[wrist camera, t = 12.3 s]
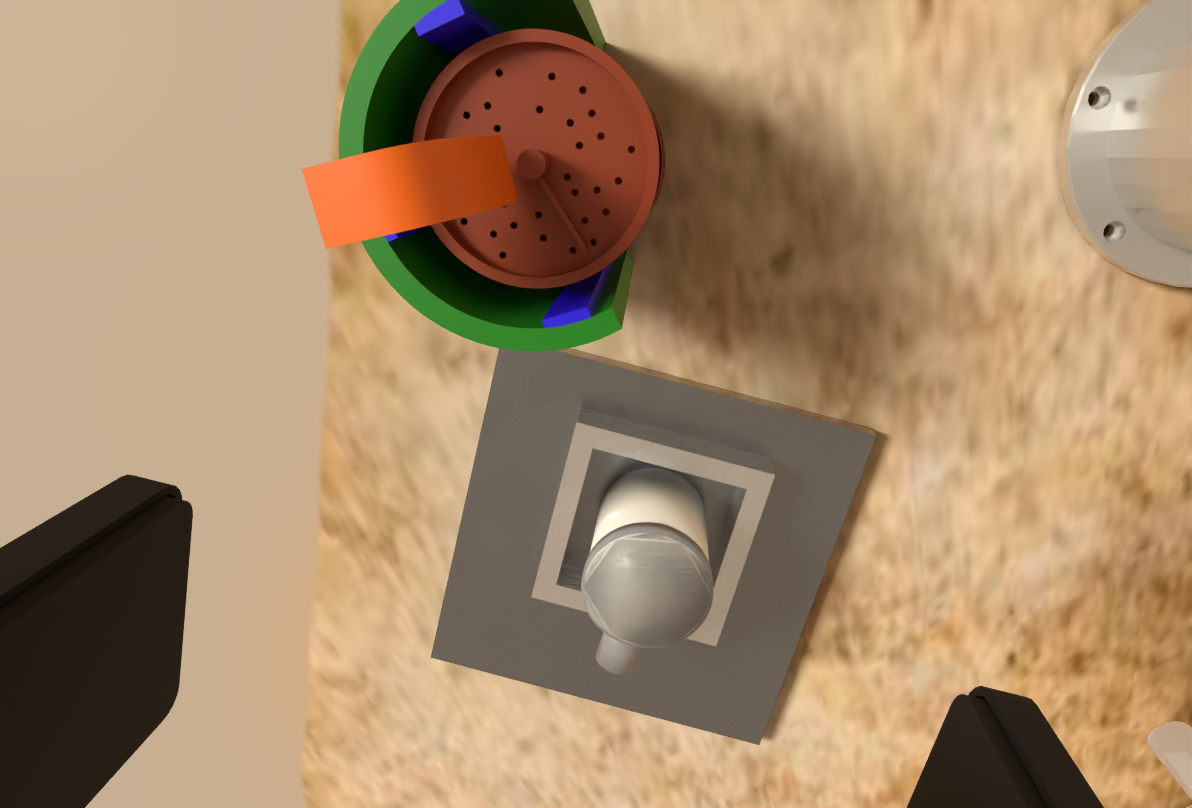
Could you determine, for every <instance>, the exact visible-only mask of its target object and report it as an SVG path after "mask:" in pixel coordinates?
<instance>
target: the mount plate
mask: <svg viewBox="0 0 1192 808" xmlns="http://www.w3.org/2000/svg"><path fill="white" fill-rule="evenodd" d="M876 436H877V435H876V434H875V432H874V431H873V430H872V428H868V427H864V426H860V425H857V424H853V423H849V422H845V421H841V420H838V419H834V418H830V417H826V416H823V415H819V414H815V413H811V412H808V411H804V410H800V409H796V408H792V407H789V406H785V405H781V404H777V403H774V402H770V401H766V400H762V399H759V398H755V397H751V396H747V395H744V394H740V393H736V392H732V391H728V390H725V389H721V388H717V387H713V386H710V385H706V384H702V383H698V382H695V381H691V380H687V379H683V378H679V377H676V376H672V375H668V374H664V373H661V372H657V371H653V370H649V369H646V368H642V367H638V366H634V365H631V364H627V363H623V362H619V361H615V360H612V359H608V358H604V357H600V356H597V355H593V354H589V353H585V352H582V351H578V350H574V349H570V348H566V349H560V350H552V351H516V350H508V349H501V348H499V352H498V356H497V361H496V366H495V370H494V375H493V379H492V384H491V388H490V393H489V397H488V402H487V406H486V411H485V415H484V420H483V424H482V429H481V433H480V438H479V442H478V447H477V451H476V456H475V460H474V465H473V469H472V474H471V478H470V483H469V487H468V492H467V496H466V501H465V505H464V510H463V514H462V519H461V523H460V528H459V533H458V537H457V542H456V546H455V551H454V555H453V560H452V564H451V569H450V573H449V578H448V582H447V587H446V591H445V596H444V600H443V605H442V609H441V614H440V618H439V623H438V627H437V632H436V636H435V641H434V645H433V650H432V654H431V658H435V659H439V660H443V661H446V662H450V663H454V664H458V665H461V666H465V667H469V668H473V669H476V670H480V671H484V672H488V673H491V674H495V675H499V676H503V677H506V678H510V679H514V680H518V681H521V682H525V683H529V684H533V685H536V686H540V687H544V688H548V689H551V690H555V691H559V692H563V693H566V694H570V695H574V696H578V697H581V698H585V699H589V700H592V701H596V702H600V703H604V704H607V705H611V706H615V707H619V708H622V709H626V710H630V711H634V712H637V713H641V714H645V715H649V716H652V717H656V718H660V719H664V720H667V721H671V722H675V723H679V724H682V725H686V726H690V727H694V728H697V729H701V730H705V731H709V732H712V733H716V734H720V735H724V736H727V737H731V738H735V739H739V740H742V741H746V742H750V743H754V744H757V745H759V744H760V742H761V739H762V736H763V734H764V731H765V728H766V726H767V723H768V721H769V718H770V715H771V713H772V710H773V707H774V705H775V702H776V699H777V697H778V694H779V692H780V689H781V686H782V684H783V681H784V678H785V676H786V673H787V671H788V668H789V665H790V663H791V660H792V657H793V655H794V652H795V649H796V647H797V644H798V642H799V639H800V636H801V634H802V631H803V628H804V626H805V623H806V621H807V618H808V615H809V613H810V610H811V607H812V605H813V602H814V600H815V597H816V594H817V592H818V589H819V586H820V584H821V581H822V578H823V576H824V573H825V571H826V568H827V565H828V563H829V560H830V557H831V555H832V552H833V550H834V547H835V544H836V542H837V539H838V536H839V534H840V531H841V529H842V526H843V523H844V521H845V518H846V515H847V513H848V510H849V507H850V505H851V502H852V500H853V497H854V494H855V492H856V489H857V486H858V484H859V481H860V479H861V476H862V473H863V471H864V468H865V465H866V463H867V460H868V458H869V455H870V452H871V450H872V447H873V444H874V442H875V439H876ZM645 468H657V469H664V470H668V471H671V472H673V473H676V474H677V475H679V476H681V477H683V478H684V479H686V480H687V481H688V482H689V483H690V484H691V485H692V486H693V487H694V488H695V489H696V490H697V492H698V494H699V495H700V497H701V499H702V502H703V505H704V508H705V515H706V528H707V542H708V555H709V564H710V567H711V571H712V577H713V601H712V606H711V609H710V612H709V614H708V616H707V618H706V619H705V621H704V622H703V624H702V625H701V626H700V627H699V628H698V629H697V630H696V631H695V632H694V633H693V634H692V635H690V636H689V637H687V638H686V639H684V640H682V641H680V642H678V643H675V644H673V645H670V646H665V647H660V648H641V650H640V652H639V655H638V658H637V660H636V663H635V666H634V669H633V670H632V672H630V673H628V674H624V675H620V674H615V673H611V672H609V671H607V670H605V669H604V668H603V667H601V666H600V665H599V664H598V662H597V660H596V652H597V650H598V647H599V644H600V641H601V638H602V635H603V631H602V630H601V629H599V628H598V626H597V625H596V624H595V623H594V622H593V621H592V619H591V618H590V616H589V614H588V613H587V611H586V609H585V606H584V603H583V599H582V594H581V582H582V575H583V571H584V567H585V563H586V560H587V558H588V555H589V553H590V550H591V546H592V541H593V536H594V532H595V527H596V523H597V518H598V514H599V509H600V505H601V501H602V499H603V496H604V494H605V493H606V491H607V490H608V488H609V487H610V486H611V485H612V484H613V483H614V482H615V481H616V480H617V479H619V478H620V477H621V476H623V475H625V474H627V473H629V472H632V471H635V470H639V469H645Z"/></svg>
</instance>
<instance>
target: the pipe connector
mask: <svg viewBox="0 0 1192 808" xmlns="http://www.w3.org/2000/svg"><path fill="white" fill-rule="evenodd" d="M1147 745H1148V747H1149V748H1150V749H1151V751H1152V752H1153V753H1154V754H1155V755H1156V757H1157V758H1158V759H1159V760H1160V762H1161V763H1162V764H1163V765H1164V767H1165V768H1166V769H1167V770H1168V771H1169V773H1170V774H1171V775H1172V776H1173V778H1174V779H1175V780H1176V781H1177V783H1178V784H1179V785H1180V786H1181V787H1182V789H1183V790H1184V791H1185V792H1186V794H1187V795H1188V796H1189V797H1190V798H1191V800H1192V727H1191V726H1189V725H1188V724H1186V723H1184V722H1177V721H1171V722H1168V723H1164V724H1161V725H1160V726H1157V727H1155V728H1154V729H1152V730H1151V732H1150V733H1149V734H1148V736H1147ZM1185 808H1192V804H1191V805H1189V806H1187V807H1185Z"/></svg>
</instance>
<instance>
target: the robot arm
mask: <svg viewBox="0 0 1192 808" xmlns="http://www.w3.org/2000/svg"><path fill="white" fill-rule="evenodd" d="M1090 93H1092V94H1093V95H1094V102H1093V103H1092V104H1091V105H1089V103H1088V97H1089V94H1090ZM1057 165H1058V173H1059V180H1060V188H1061V192H1062V195H1063V198H1064V201H1065V204H1066V207H1067V209H1068V212H1069V215H1070V217H1071V219H1072V220H1073V222H1074V224H1075V225H1076V227H1077V228H1078V230H1079V232H1080V233H1081V235H1082V236H1083V238H1084V239H1085V240H1086V241H1087V242H1088V243H1089V244H1090V245H1091V246H1092V247H1093V248H1094V249H1095V250H1096V251H1097V252H1098V253H1099V254H1100V255H1101V256H1102V257H1103V258H1104V259H1106V260H1108V261H1109V262H1111V263H1112V264H1114V265H1115V266H1117V267H1118V268H1120V269H1122V270H1123V271H1125V272H1128V273H1130V274H1133V275H1136V276H1138V277H1141V278H1144V279H1146V280H1149V281H1153V282H1157V283H1162V284H1166V285H1170V286H1175V287H1190V288H1192V0H1146V1H1145V2H1144V3H1142V4H1141V5H1140V6H1138V7H1137V8H1136V9H1135V10H1133V11H1132V12H1131V13H1130V14H1128V15H1127V16H1126V17H1124V18H1123V19H1122V20H1121V21H1120V22H1119V23H1118V24H1117V26H1116V27H1115V28H1114V29H1113V30H1112V31H1111V32H1110V33H1109V34H1108V35H1107V36H1106V37H1105V38H1104V40H1103V41H1102V42H1101V43H1100V44H1099V45H1098V47H1097V48H1096V50H1095V51H1094V53H1093V54H1092V56H1091V57H1090V59H1089V60H1088V62H1087V63H1086V65H1085V66H1084V68H1083V69H1082V71H1081V72H1080V74H1079V77H1078V79H1077V81H1076V83H1075V85H1074V88H1073V90H1072V92H1071V94H1070V96H1069V99H1068V101H1067V104H1066V108H1065V112H1064V116H1063V119H1062V123H1061V127H1060V131H1059V142H1058V157H1057ZM1107 225H1108V226H1109V231H1108V233H1107V234H1106V235H1103V233H1104V228H1105V227H1106V226H1107ZM192 518H193V511H192V506H191V504H190V503H189V502H187V501H183V500H182V495H181V492H180V490H179V489H178V488H177V487H176V486H174V485H170V484H166V483H161V482H158V481H153V480H149V479H146V478H142V477H137V476H133V475H126V476H122V477H120V478H118V479H117V480H115V481H113V482H112V483H110V484H108V485H106V486H105V487H103V488H101V489H100V490H98V491H96V492H95V493H93V494H91V495H90V496H88V497H86V498H84V499H83V500H81V501H79V502H78V503H76V504H74V505H72V506H71V507H69V508H68V509H66V510H64V511H62V512H61V513H59V514H57V515H56V516H54V517H52V518H50V519H49V520H47V521H45V522H44V523H42V524H40V525H39V526H37V527H35V528H33V529H32V530H30V531H29V532H27V533H25V534H23V535H22V536H20V537H18V538H17V539H15V540H13V541H11V542H10V543H8V544H6V545H5V546H3V547H1V548H0V808H85V807H86V806H87V805H88V803H89V802H90V801H91V800H92V799H93V798H94V797H95V796H96V794H97V793H98V792H99V791H100V790H101V789H102V788H103V787H104V786H105V785H106V783H107V782H108V781H109V780H110V779H111V778H112V777H113V776H114V774H115V773H116V772H117V771H118V770H119V769H120V768H121V767H122V766H123V764H124V763H125V762H126V761H127V760H128V759H129V758H130V757H131V756H132V754H133V753H134V752H135V751H136V750H137V749H138V748H139V747H140V746H141V744H142V743H143V742H144V741H145V740H146V739H147V738H148V737H149V735H150V734H151V733H152V732H153V731H154V730H155V729H156V728H157V726H158V725H159V724H160V723H161V722H162V721H163V720H164V718H165V717H166V716H167V715H168V713H169V711H170V710H171V708H172V706H173V704H174V701H175V699H176V696H177V693H178V688H179V681H180V669H181V656H182V643H183V630H184V618H185V606H186V593H187V580H188V567H189V555H190V542H191V530H192ZM907 808H1104V807H1103V806H1102V804H1101V803H1100V801H1099V800H1098V798H1097V797H1096V795H1095V793H1094V792H1093V790H1092V789H1091V787H1090V786H1089V784H1088V783H1087V781H1086V780H1085V778H1084V777H1083V775H1082V774H1081V772H1080V770H1079V769H1078V767H1077V766H1076V764H1075V763H1074V761H1073V760H1072V758H1071V757H1070V755H1069V754H1068V752H1067V751H1066V749H1065V748H1064V746H1063V744H1062V743H1061V741H1060V740H1059V738H1058V737H1057V735H1056V734H1055V732H1054V731H1053V729H1052V728H1051V726H1050V725H1049V723H1048V721H1047V720H1046V718H1045V717H1044V715H1043V714H1042V712H1041V711H1040V709H1039V708H1038V706H1037V705H1036V704H1035V703H1034V702H1033V700H1032V699H1030V698H1027V697H1023V696H1019V695H1015V694H1011V693H1007V692H1003V691H999V690H995V689H991V688H987V687H983V686H979V687H976V688H974V689H973V690H972V691H971V692H970V693H969V695H964V694H961V695H958V696H957V697H956V698H955V699H954V701H953V702H952V704H951V706H950V709H949V711H948V713H947V715H946V718H945V720H944V722H943V725H942V727H941V729H940V732H939V734H938V736H937V739H936V741H935V743H934V746H933V748H932V750H931V753H930V755H929V757H928V760H927V762H926V764H925V767H924V769H923V771H922V774H921V776H920V778H919V781H918V783H917V785H916V788H915V790H914V792H913V794H912V797H911V799H910V801H909V804H908V806H907Z"/></svg>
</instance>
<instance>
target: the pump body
mask: <svg viewBox="0 0 1192 808" xmlns="http://www.w3.org/2000/svg"><path fill="white" fill-rule="evenodd" d="M581 594H582V599H583V603H584V606H585V609H586V611H587V613H588V614H589V616H590V618H591V619H592V621H593V622H594V623H595V624H596V625H597V626H598V628H599V629H601V630H602V631H603V635H602V638H601V641H600V644H599V647H598V650H597V652H596V660H597V662H598V664H599V665H600V666H601V667H603V668H604V669H605V670H607V671H609V672H611V673H615V674H620V675H624V674H628V673H630V672H632V670H633V669H634V666H635V663H636V660H637V658H638V655H639V652H640V650H641V648H660V647H665V646H670V645H673V644H675V643H678V642H680V641H682V640H684V639H686V638H687V637H689V636H690V635H692V634H693V633H694V632H695V631H696V630H697V629H698V628H699V627H700V626H701V625H702V624H703V622H704V621H705V619H706V618H707V616H708V614H709V612H710V609H711V606H712V601H713V577H712V571H711V567H710V564H709V555H708V542H707V528H706V515H705V508H704V505H703V502H702V499H701V497H700V495H699V494H698V492H697V490H696V489H695V488H694V487H693V486H692V485H691V484H690V483H689V482H688V481H687V480H686V479H684V478H683V477H681V476H679V475H677V474H676V473H673V472H671V471H668V470H664V469H657V468H645V469H639V470H635V471H632V472H629V473H627V474H625V475H623V476H621V477H620V478H619V479H617V480H616V481H615V482H614V483H613V484H612V485H611V486H610V487H609V488H608V490H607V491H606V493H605V494H604V496H603V499H602V501H601V505H600V509H599V514H598V518H597V523H596V527H595V532H594V536H593V541H592V546H591V550H590V553H589V555H588V558H587V560H586V563H585V567H584V571H583V575H582V582H581Z"/></svg>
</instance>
